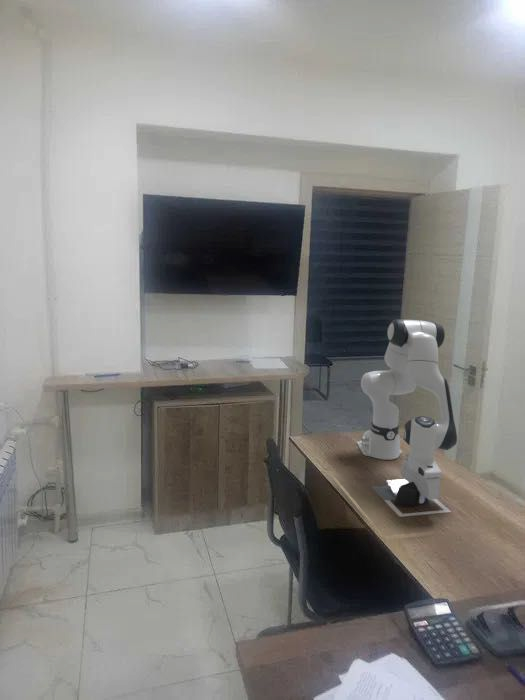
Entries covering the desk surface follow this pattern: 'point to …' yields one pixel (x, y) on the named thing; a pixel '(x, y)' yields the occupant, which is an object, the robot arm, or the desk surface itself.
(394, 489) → the light grey rectangular plate
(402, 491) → the leaning round-cornered charcoal block
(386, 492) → the mounting board
